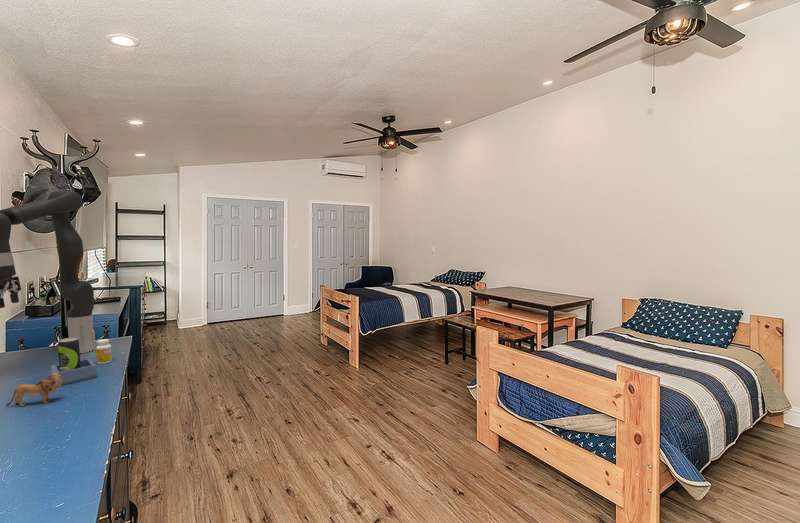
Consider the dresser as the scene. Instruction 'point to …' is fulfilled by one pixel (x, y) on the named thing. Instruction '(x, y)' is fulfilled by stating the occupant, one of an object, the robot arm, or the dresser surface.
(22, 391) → the lion figurine
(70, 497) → the dresser surface
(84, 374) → the slate blue open bin
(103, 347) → the supplement bottle
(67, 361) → the beverage can
